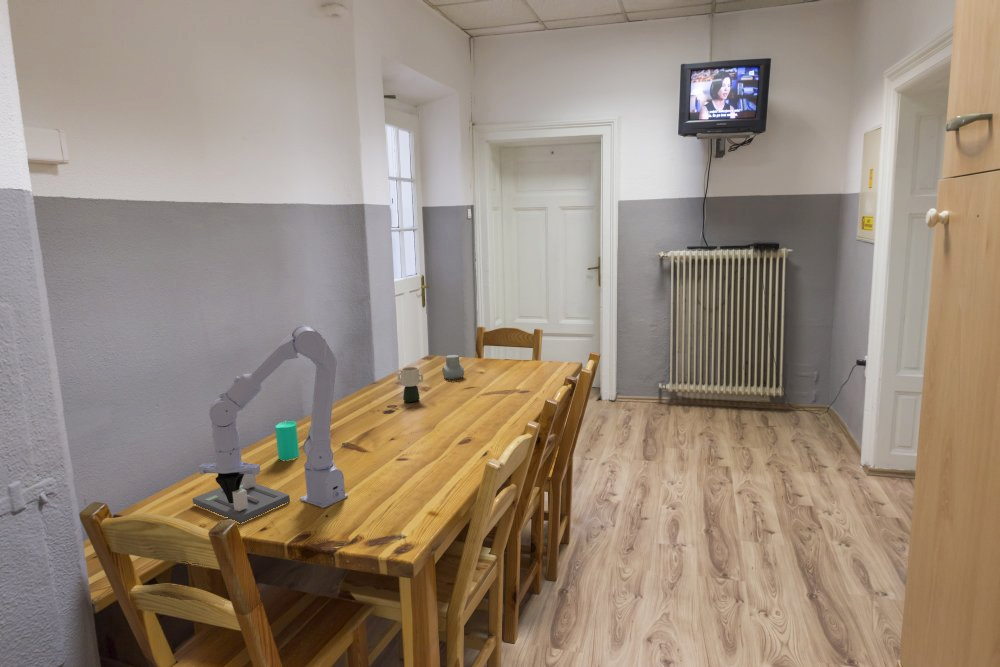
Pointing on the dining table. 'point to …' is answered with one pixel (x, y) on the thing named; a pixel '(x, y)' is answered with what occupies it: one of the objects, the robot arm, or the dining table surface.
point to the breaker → (248, 480)
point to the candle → (287, 440)
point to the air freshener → (453, 368)
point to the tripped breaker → (240, 499)
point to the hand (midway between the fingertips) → (233, 501)
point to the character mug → (410, 383)
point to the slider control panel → (257, 500)
